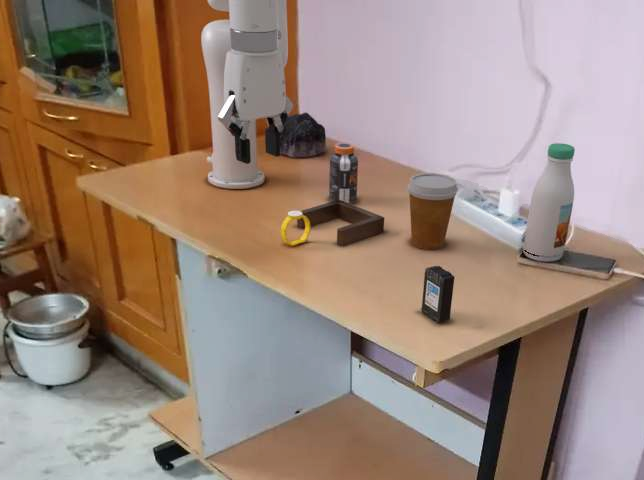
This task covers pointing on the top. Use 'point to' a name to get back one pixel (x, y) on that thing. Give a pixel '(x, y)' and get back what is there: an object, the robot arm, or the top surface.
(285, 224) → the watch
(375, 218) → the bay
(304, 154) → the crystal cluster
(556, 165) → the milk bottle
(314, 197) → the top surface
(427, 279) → the ink cartridge
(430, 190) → the disposable coffee cup
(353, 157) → the pill bottle
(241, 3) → the robot arm
